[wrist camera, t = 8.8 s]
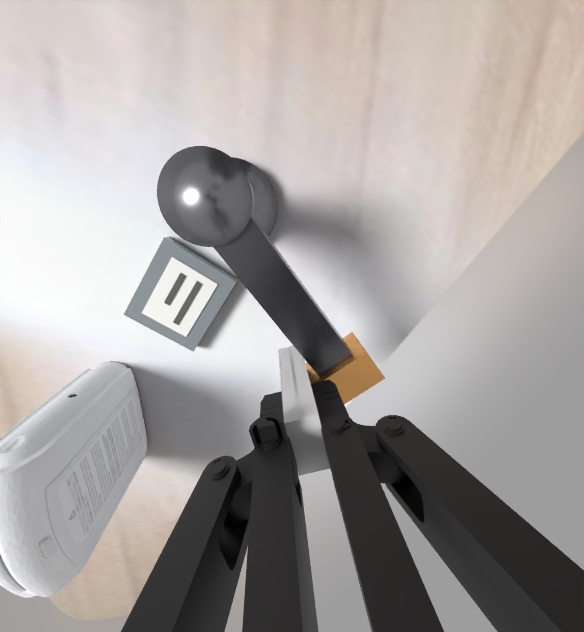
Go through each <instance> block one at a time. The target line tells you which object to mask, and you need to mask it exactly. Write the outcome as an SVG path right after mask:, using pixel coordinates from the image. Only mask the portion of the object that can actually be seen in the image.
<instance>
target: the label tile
mask: <svg viewBox="0 0 584 632" xmlns="http://www.w3.org/2000/svg"><path fill="white" fill-rule="evenodd" d="M237 280H238V279H236V278H235V277H233V276H231V275H230V274H228V273H226V272H225V271H223V270H222V269H220V268H218V267H217V266H215V265H214V264H212V263H210V262H209V261H207V260H206V259H204V258H202V257H201V256H199V255H197V254H196V253H194V252H193V251H191V250H189V249H188V248H186V247H185V246H183V245H181V244H180V243H178V242H177V241H175V240H173V239H172V238H170V237H164V239H163V241H162V243H161V244H160V246H159V248H158V250H157V252H156V254H155V256H154V258H153V260H152V262H151V264H150V265H149V267H148V269H147V271H146V273H145V275H144V277H143V279H142V281H141V283H140V285H139V286H138V288H137V290H136V292H135V294H134V296H133V298H132V300H131V302H130V304H129V306H128V307H127V309H126V311H125V313H124V315H125V316H127V317H129V318H131V319H133V320H135V321H137V322H139V323H141V324H142V325H144V326H146V327H148V328H150V329H152V330H154V331H156V332H157V333H159V334H161V335H163V336H165V337H167V338H169V339H171V340H173V341H174V342H176V343H178V344H180V345H182V346H184V347H186V348H188V349H190V350H191V351H194V350H195V348H196V347H197V345H198V343H199V342H200V340H201V339H202V337H203V335H204V334H205V332H206V330H207V329H208V327H209V326H210V324H211V322H212V321H213V319H214V318H215V316H216V314H217V313H218V311H219V309H220V308H221V306H222V305H223V303H224V301H225V300H226V298H227V297H228V295H229V293H230V292H231V290H232V289H233V287H234V285H235V284H236V282H237Z"/></svg>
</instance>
